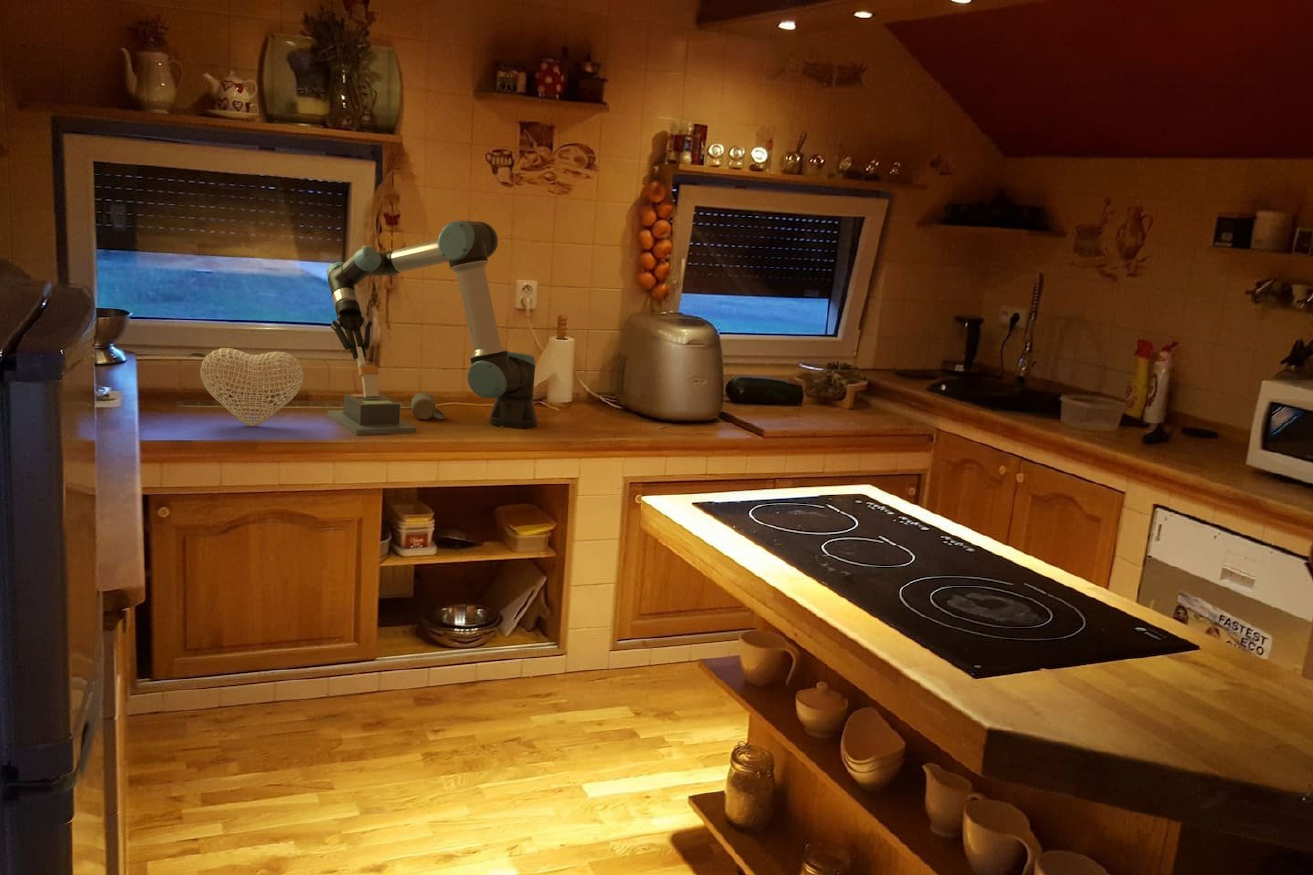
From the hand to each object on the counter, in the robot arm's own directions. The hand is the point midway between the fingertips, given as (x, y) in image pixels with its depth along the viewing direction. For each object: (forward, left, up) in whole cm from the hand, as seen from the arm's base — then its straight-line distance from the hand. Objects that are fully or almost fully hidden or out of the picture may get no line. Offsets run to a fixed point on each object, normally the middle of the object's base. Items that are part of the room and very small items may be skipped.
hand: (362, 366), depth 337 cm
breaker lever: (-5, +8, -9) cm, 13 cm away
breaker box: (-5, +8, -16) cm, 19 cm away
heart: (+25, +25, -16) cm, 39 cm away
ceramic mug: (-19, -7, -16) cm, 26 cm away
